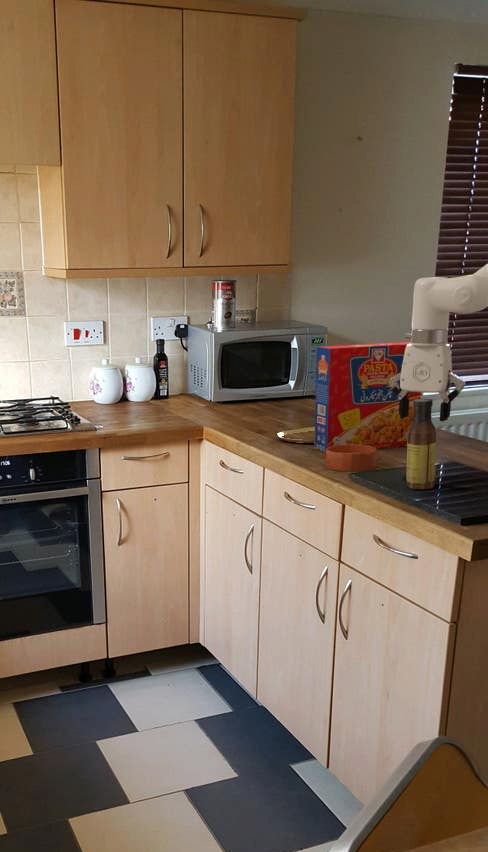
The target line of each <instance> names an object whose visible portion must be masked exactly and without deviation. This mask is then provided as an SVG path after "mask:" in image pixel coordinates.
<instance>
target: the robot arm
mask: <svg viewBox="0 0 488 852" xmlns="http://www.w3.org/2000/svg"><path fill="white" fill-rule="evenodd" d="M413 286H414V288H413V301H412V317H411V329H410V331H406V332H405V334H404V338H405V339H408V340H409V342H411V344H408V345H407V346H406V349H405V354H404V358H403V364H402V370H401V373H399V374H397V375H396V376H394V377H392V378H391V379H389V381H388V382H389V384H390V386H391V388H392V391H393V392H394V394H395V395H396V396H397V398H398V400H399V414H400V418H405V417H408V415H409V399H408V395H409V394H410V393H411V392H421V393H429V394H436V393H437V394H438V395H439V397H440V398H441V400H442V402H441V403H440V407H439V421H440V422H445V421H447V420H448V419H449V417H450V416H451V408H452V402H453V401H454V400H455V399H456V398H457V397H458V396H459V395H460V394H461V392H462V391H463V389H465V386H466V381H464V380H463V379H461V378H460V377H458V375H456V374H454V373H453V363H452V361H453V360H452V350H451V345H450V343H448V338H449V337H448V335H449V334H448V333H449V323H450V313H454V314H463V315H464V314H465V315H466V314H467V315H468V314H472V313H476V312H480V311H482V310H485V309H486V308H487V307H488V263H486V264H485V265H484V266H482V267H481V268H480V269H478V270H477V271H476V272H474V273H472V274H468V275H462V276H456V277H450V278H448V277H444V276H433V277H429V276H428V277H420V278H418V279H417V280H416V281H415V283H414V285H413ZM399 380H400V387H399V386H398V381H399ZM452 384H453V385H455V388H454V389H453V390H452V391H450V389H451V387H452V386H451V385H452Z"/></svg>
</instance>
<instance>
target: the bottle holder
mask: <svg viewBox="0 0 488 852" xmlns="http://www.w3.org/2000/svg"><path fill="white" fill-rule="evenodd" d="M377 453H378V449H376V448H375V447H372V446H367V445H356V444H345V445H334V446H329V447H327V448H326V450H325V453H324V466H325V467H324V468H326V469H329V470H331V471H336V472H337V471H338V472H365V471H366V472H367V471H371V470H374V469H375V468H377V458H378V457H377V455H378V454H377Z"/></svg>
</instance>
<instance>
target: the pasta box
mask: <svg viewBox="0 0 488 852" xmlns="http://www.w3.org/2000/svg"><path fill="white" fill-rule="evenodd" d="M408 344H411V342H410V341H398V342H383V343H382V342H379V343H363V344H362V343H361V344H345V345H344V344H343V345H326V346H325V345H324V346H316V368H315V369H316V371H315V404H314V405H315V411H314V427H315V444H313V446H314V447H316V448H318V449H320V450H322V451H325V450H326V448H327V447H329V446H334V445H345V444H356V445H367V446H372V447H375V448H376V449H377V450H381V449H380V448H384V449H388V448H387V447H396V446H405V445H407V439H408V434H409V430H410V427H411V425H412V423H413V417H414V406H413V403H414V400H415V399H422V398H421V397H422V392H411V393H410V394H409V395H408V399H409V415H408V417H405V418H400V414H399V400H398V398H397V396H396V395H395V394H394V392H393V391H392V388H391V386H390V384H389V382H388V381H389V379H391V378H392V377H394V376H396V375H397V374H399V373H401V370H402V364H403V358H404V354H405V349H406V346H407V345H408ZM398 386H399V387H400V380H399V381H398ZM314 447H313V448H314ZM396 448H397V447H396ZM322 451H321V452H322Z"/></svg>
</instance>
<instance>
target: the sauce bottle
mask: <svg viewBox="0 0 488 852" xmlns="http://www.w3.org/2000/svg"><path fill="white" fill-rule="evenodd" d="M433 405H434V403H433V399H432V398H421V399H415V400H414V403H413V406H414V417H413V423H412V425H411V427H410V430H409V434H408V439H407V448H406V449H407V450H406V476H405V477H406V479H405V480H406V486H407V488H408V489H412V490H415V491H421V490H422V491H428V490H431V489H433V488H434V487H435V481H436V463H437V462H436V461H437V459H436V458H437V431H436V426H435V425H434V423H433V421H432V418H433V417H432V407H433Z"/></svg>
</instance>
